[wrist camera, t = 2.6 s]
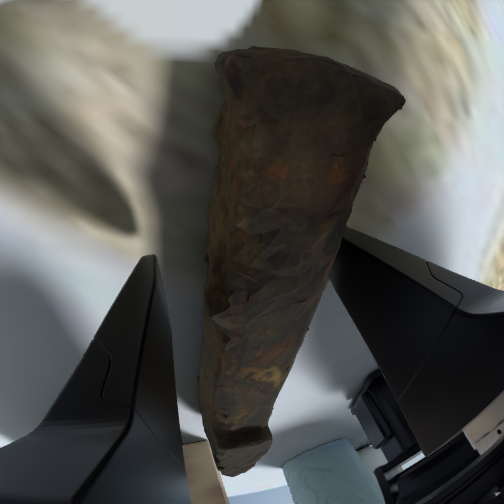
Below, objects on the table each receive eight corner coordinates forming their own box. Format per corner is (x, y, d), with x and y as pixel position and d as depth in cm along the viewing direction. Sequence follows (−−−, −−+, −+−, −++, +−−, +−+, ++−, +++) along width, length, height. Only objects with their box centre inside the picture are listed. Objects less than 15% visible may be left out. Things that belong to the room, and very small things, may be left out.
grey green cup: (271, 461, 27) (310, 556, 18) (360, 425, 28) (407, 512, 19) (282, 475, 34) (313, 547, 25) (352, 446, 35) (388, 515, 26)
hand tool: (206, 39, 7) (262, 21, 3) (339, 71, 8) (462, 106, 4) (169, 420, 17) (183, 489, 13) (232, 414, 18) (253, 479, 14)
